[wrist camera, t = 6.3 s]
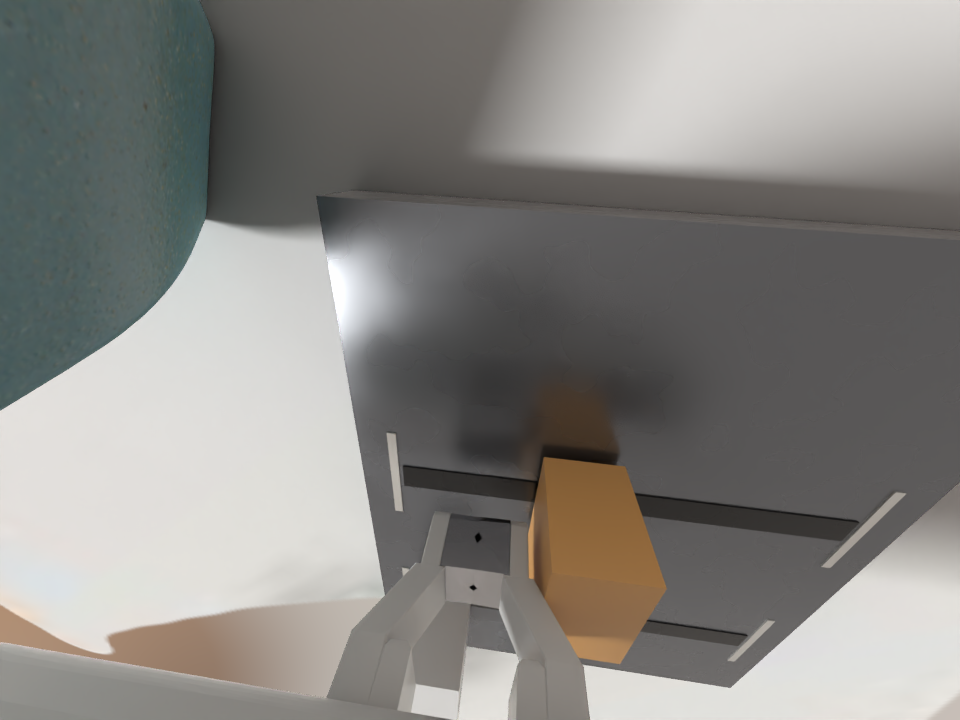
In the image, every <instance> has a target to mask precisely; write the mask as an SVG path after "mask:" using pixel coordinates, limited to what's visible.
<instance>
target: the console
mask: <svg viewBox="0 0 960 720" xmlns="http://www.w3.org/2000/svg"><path fill="white" fill-rule="evenodd" d="M316 197H317V203H318V209H319V215H320V221H321V226H322V232H323V238H324V244H325V250H326V255H327V261H328V267H329V273H330V279H331V284H332V290H333V296H334V302H335V308H336V313H337V319H338V325H339V331H340V337H341V342H342V348H343V354H344V360H345V366H346V371H347V377H348V383H349V389H350V395H351V400H352V406H353V412H354V418H355V424H356V429H357V435H358V441H359V447H360V453H361V458H362V464H363V470H364V476H365V482H366V488H367V493H368V499H369V505H370V511H371V517H372V522H373V528H374V534H375V540H376V546H377V551H378V557H379V563H380V569H381V575H382V580H383V586H384V592H385V595H386V594H387V593H388V592H389V591H390V590H391V589H392V587H393V586H394V585H395V584H396V583H397V582H398V581H399V580H400V579H401V578H402V577H403V576H404V575H405V574H406V573H407V572H408V571H409V570H410V569H411V568H412V567H413V565H414V564H415V563H421V561H422V557H423V553H424V549H425V545H426V541H427V537H428V533H429V530H430V526H431V522H432V518H433V515H434V513H435V511H440V512H448V513H454V514H461V515H468V516H476V517H487V518H496V519H506V520H510V521H519V522H527V525H528V532H529V527H530V523H531V518H532V513H533V508H534V503H535V498H536V493H537V488H538V483H539V478H540V473H541V468H542V463H543V458H544V457H548V458H557V459H565V460H574V461H582V462H591V463H599V464H608V465H616V466H625V467H626V470H627V473H628V476H629V479H630V482H631V484H632V487H633V490H634V493H635V496H636V499H637V502H638V505H639V508H640V511H641V514H642V517H643V520H644V523H645V526H646V529H647V532H648V535H649V538H650V540H651V543H652V546H653V549H654V552H655V555H656V558H657V561H658V564H659V567H660V570H661V573H662V576H663V579H664V582H665V585H666V588H667V589H666V591H665V593H664V594H663V596H662V597H661V599H660V601H659V602H658V604H657V605H656V607H655V609H654V610H653V612H652V613H651V615H650V617H649V618H648V620H647V621H646V623H645V625H644V626H643V628H642V629H641V631H640V633H639V634H638V636H637V637H636V639H635V641H634V642H633V644H632V645H631V647H630V649H629V650H628V652H627V653H626V655H625V657H624V658H623V660H622V661H621V663H620V664H615V663H609V662H603V661H596V660H590V659H584V658H579V660H580V662H581V663H582V664H583V665H589V666H596V667H602V668H608V669H615V670H621V671H627V672H634V673H640V674H646V675H653V676H659V677H665V678H671V679H678V680H684V681H690V682H697V683H703V684H709V685H716V686H722V687H728V688H730V687H732V686H733V685H734V684H735V683H736V682H737V681H738V680H739V679H741V678H742V677H743V676H744V675H745V674H746V673H747V672H748V671H749V670H751V669H752V668H753V667H754V666H755V665H756V664H757V663H758V662H759V661H761V660H762V659H763V658H764V657H765V656H766V655H767V654H768V653H769V652H771V651H772V650H773V649H774V648H775V647H776V646H777V645H778V644H780V643H781V642H782V641H783V640H784V639H785V638H786V637H787V636H788V635H790V634H791V633H792V632H793V631H794V630H795V629H796V628H797V627H798V626H800V625H801V624H802V623H803V622H804V621H805V620H806V619H807V618H808V617H810V616H811V615H812V614H813V613H814V612H815V611H816V610H817V609H818V608H820V607H821V606H822V605H823V604H824V603H825V602H826V601H827V600H829V599H830V598H831V597H832V596H833V595H834V594H835V593H836V592H837V591H839V590H840V589H841V588H842V587H843V586H844V585H845V584H846V583H847V582H849V581H850V580H851V579H852V578H853V577H854V576H855V575H856V574H857V573H859V572H860V571H861V570H862V569H863V568H864V567H865V566H866V565H868V564H869V563H870V562H871V561H872V560H873V559H874V558H875V557H876V556H878V555H879V554H880V553H881V552H882V551H883V550H884V549H885V548H886V547H888V546H889V545H890V544H891V543H892V542H893V541H894V540H895V539H896V538H898V537H899V536H900V535H901V534H902V533H903V532H904V531H905V530H907V529H908V528H909V527H910V526H911V525H912V524H913V523H914V522H915V521H917V520H918V519H919V518H920V517H921V516H922V515H923V514H924V513H925V512H927V511H928V510H929V509H930V508H931V507H932V506H933V505H934V504H935V503H937V502H938V501H939V500H940V499H941V498H942V497H943V496H944V495H945V494H947V493H948V492H949V491H950V490H951V489H952V488H953V487H954V486H956V485H957V484H958V483H959V482H960V231H954V230H939V229H924V228H910V227H895V226H880V225H865V224H850V223H835V222H820V221H805V220H790V219H776V218H761V217H746V216H731V215H716V214H701V213H686V212H671V211H656V210H642V209H627V208H612V207H597V206H582V205H567V204H552V203H537V202H523V201H508V200H493V199H478V198H463V197H448V196H433V195H418V194H403V193H389V192H374V191H359V190H351V191H345V192H338V193H332V194H325V195H318V196H316ZM467 646H469V647H476V648H482V649H488V650H494V651H501V652H507V653H513V654H516V652H515V650H514V647H513V645H512V642H511V640H510V637H509V635H508V632H507V630H506V627H505V625H504V622H503V620H502V617H501V615H500V612H499V609H498V608H492V607H486V606H481V605H475V604H470V618H469V630H468V638H467Z"/></svg>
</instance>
